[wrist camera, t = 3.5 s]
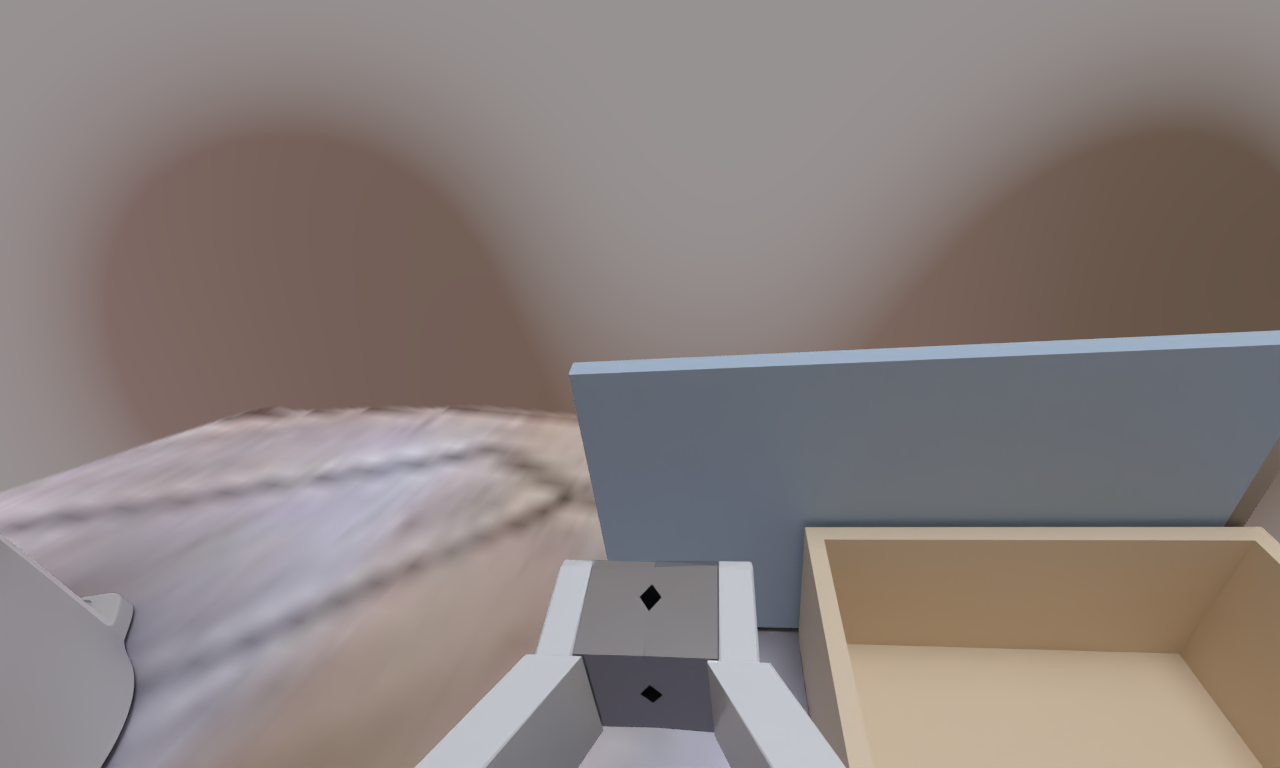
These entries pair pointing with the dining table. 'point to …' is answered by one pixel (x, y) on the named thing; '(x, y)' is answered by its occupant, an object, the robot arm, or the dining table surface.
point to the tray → (1043, 646)
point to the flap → (923, 444)
